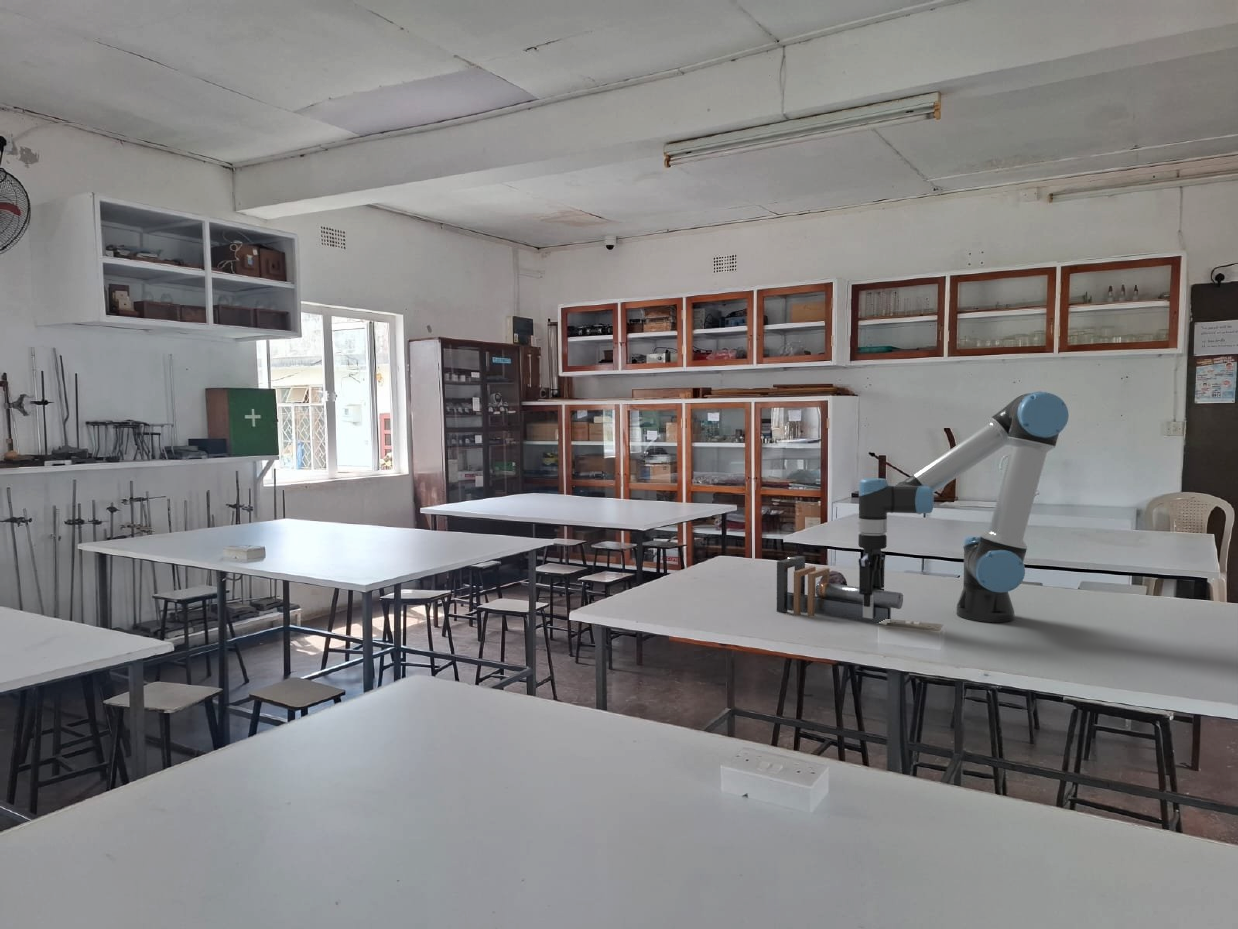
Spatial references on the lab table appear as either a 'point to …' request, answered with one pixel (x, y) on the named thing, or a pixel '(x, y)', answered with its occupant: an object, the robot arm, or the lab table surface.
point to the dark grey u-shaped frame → (783, 580)
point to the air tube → (858, 595)
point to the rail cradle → (841, 609)
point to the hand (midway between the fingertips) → (871, 615)
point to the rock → (836, 578)
